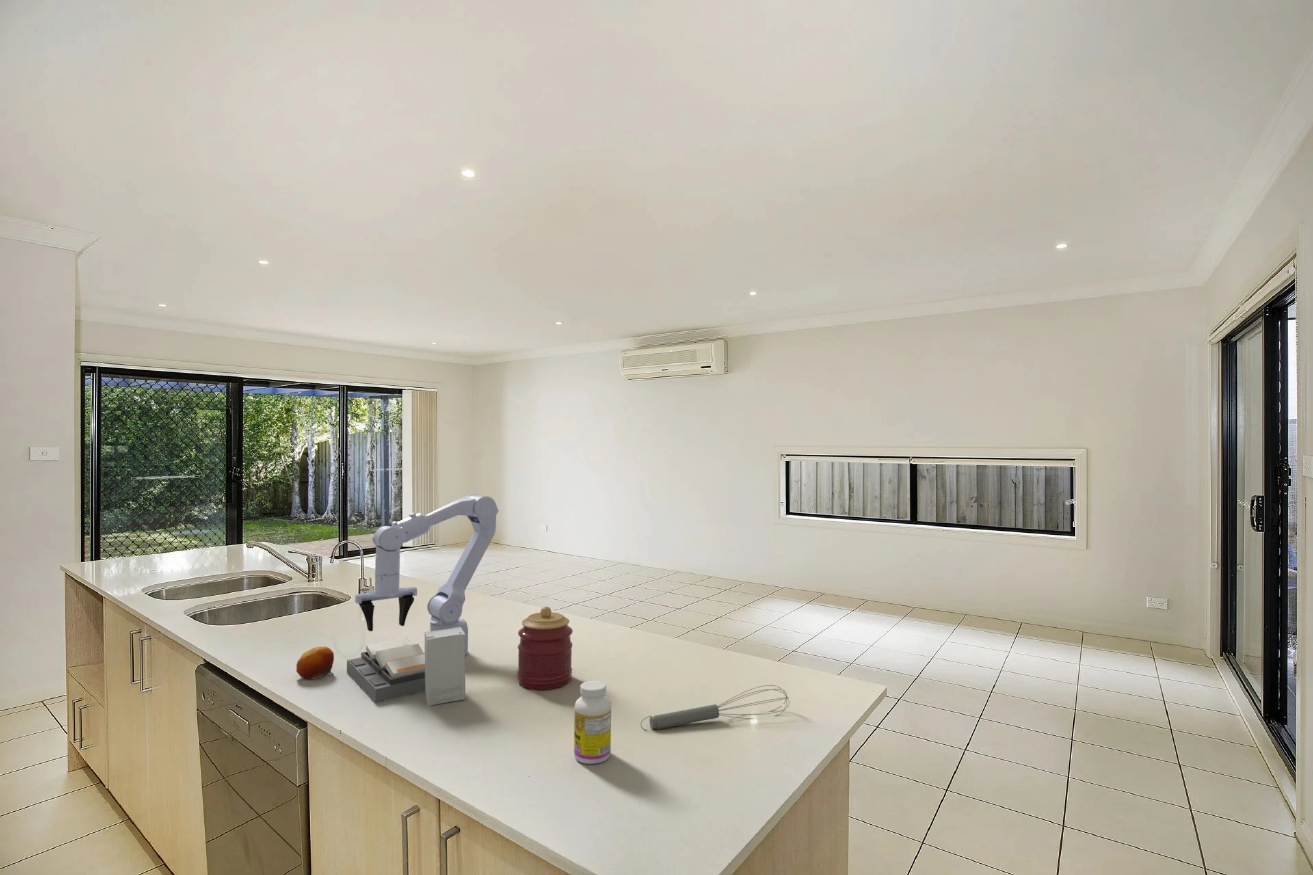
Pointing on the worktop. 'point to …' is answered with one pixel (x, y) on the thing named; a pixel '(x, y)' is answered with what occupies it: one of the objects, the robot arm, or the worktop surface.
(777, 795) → the worktop surface
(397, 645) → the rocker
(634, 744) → the worktop surface
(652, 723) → the kitchen whisk
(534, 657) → the canister
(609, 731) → the supplement bottle
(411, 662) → the panel
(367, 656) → the rocker switch panel
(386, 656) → the rocker middle
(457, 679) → the skincare box
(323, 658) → the fruit
